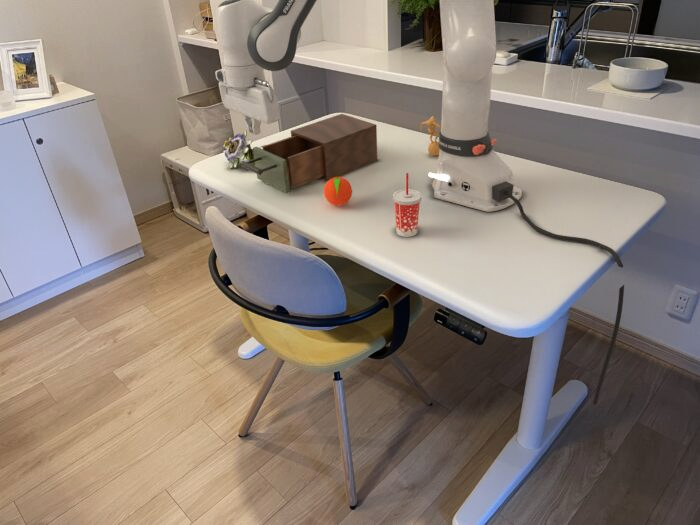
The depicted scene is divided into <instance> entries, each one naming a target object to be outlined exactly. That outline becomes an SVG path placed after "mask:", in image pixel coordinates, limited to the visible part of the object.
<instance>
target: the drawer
mask: <svg viewBox="0 0 700 525" xmlns="http://www.w3.org/2000/svg"><path fill="white" fill-rule="evenodd" d="M264 145H265V146H264ZM264 145H261V146H262V147H260V146H259V147H260V148H259V147H258V146H254V147H252V149H253V153H254V159H253V160H250V161H248V160H241V161H240V166H241V167H242V168H245V169H247V170H249V171H251V172H253V173H254V174H256V179H257V180H260V181H262V182H264V184H267V185H269V186H271V187H273V188H275V189H277V190H279V191H280V192H282V193H285V194H289V193H291V189H295V188H297V187H300V186H302V185H304V184H307V183H310V182H313V181H315V180H318V179H321V178H320V177H322V176H325V169H324V157H323V146H322V145H319V144H317V143H314V142H312V141H309V140H306V139H304V138H301V137H299V136H296V135H295V136H292V137H291V136H289V137H286V138H283V139H280V140H277V141H274V142H271V143H268V144H264ZM253 162H255V166H256V167H255V166H253V165H251V164H250V163H253Z"/></svg>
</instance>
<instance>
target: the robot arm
mask: <svg viewBox="0 0 700 525" xmlns="http://www.w3.org/2000/svg"><path fill="white" fill-rule="evenodd" d="M317 1H318V0H278V1H277V3H276V5H275V6H274V8H272V7H269V6H266V5H263V4H262V3H259V2H257V1H255V0H224V1H223V2H221V3H220V4H219V5H218V7H217V8H216V10H215V11H216V13H215V19H216V29H217V36H218V41H219V46H220V48H221V50H222V54H223V58H222V65H223V68H220V69H218V70H216V71H215V74H214V75H215V79H216V80H217V81H218V89H219V93H220V98H221V102H222V104H223V106H224V108H225V109H227V110H229V111H232V112H234V113H237V114H240V115H242V119H243V121H244V124H245V126H246V128H247V133H250V134H253V135H254V136H257V135H260V134H261V132H262V130H261V124H262V123H263V124H267V125H270V124H274V123H277V122H278V121H280V118H281V110H280V107H279V102H278V98H277V93H276V91H275V89H274V88H273V87H272V86H271V85H270V83H269V81H268V80H266V76H265V70H266V71H269V72H279V71H282V70H284V69H286V68H288V66H290V65H291V64H292V62H293V61H294V58H295V57H296V53H297V50H298V47H299V45H300V41H301V39H302V31H301V29H302V27H303V25H304V23H305V21H306V20H307V18H308V17H309V14H310V12H311V11H312V10H313V8H314V6H315V4H316V3H317ZM439 14H440V28H441V30H440V31H441V42H442V54H443V57H442V58H443V73H442V74H443V76H442V79H443V80H442V95H441V117H440V126H441V129H440V130H439V132H438V134H439V135H438V139H437V140H438V141H437V142H439V143H438V146H439V148H440V151H439V155H438V158H437V159H438V160H437V166H436V169H435V170H436V171H435V173H432V172H429V173H428V177H429V178H433V181H432V184H431V187H432V190H433V191H434V192H433V197H434V198H435V199H437V200H442V201H445V202H450V203H453V204H456V205H460V206H464V207H468V208H471V209H475V210H479V211H483V212H487V213H490V212H491V213H492V212H497V211H501V210H503V209H506V208H508V207H510V206H513V205H514V204H516V206H517V208H518V211H519V214H520V215H521V217H522V218H523V219H524V221H525V222H526V223H527V224H528V225H529V226H530V227H531V228H532V229H533V230H535V231H536V232H537V233H540V234H542V235H545V236H548V237H550V238H553V239H556V240H562V241H568V242H570V241H571V242H577V243H584V244H587V245H592V246H594V247H597V248H599V249H601V250H603V251H606V252H608V253H609V254H610V255H611V256H612V257H613V259H614V260H615V261H616V265H617V267H619V268H624V264H623V262H622V260H621V258H620V256H619V254H617V252H616V251H615V250H614V249H613V248H611V247H609V246H608V245H605V244H603V243H600V242H598V241H596V240H593V239H588V238H584V237H578V236H577V237H576V236H569V235H563V234H557V233H553V232H550V231H548V230H545V229H543V228H542V227H540V226H537V225H536V224H534V222H532V221H531V219H530V218H529V216H527V214H526V212H525V211H524V208H523V205H522V203H521V202H520V201H519V200H520V199H522V196H523V190H522V189H521V188H519V187H518V186H515V185H514V175H513V171H512V169H511V168H510V167H509V166H508V165H507V164H506V163H505V161H504V160H502V158H501V157H500V156H499V154H498V153H496V151H495V150H494V148H493V145H496V144H497V138H493V139H491V135H490V132H489V121H490V110H491V96H492V95H491V93H492V73H493V67H494V64H495V62H496V58H497V36H496V19H495V16H496V15H495V0H439ZM618 289H619V290H618V301H617V310H616V316H615V322H614V326H613V331H612V335H611V339H610V342H609V346H608V350H607V353H606V356H605V359H604V362H603V366H602V369H601V372H600V375H599V379H598V381H597V386H596V390H595V392H594V396H593V401H592V405H595V406H597V405H598V401H599V397H600V394H601V390H602V387H603V383H604V380H605V377H606V373H607V370H608V366H609V364H610V361H611V359H612V355H613V351H614V347H615V344H616V340H617V336H618V333H619V328H620V324H621V318H622V313H623V305H624V296H625V295H624V294H625V284H622V286H621V287H619V288H618Z"/></svg>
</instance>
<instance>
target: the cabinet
mask: <svg viewBox="0 0 700 525" xmlns="http://www.w3.org/2000/svg"><path fill="white" fill-rule="evenodd" d="M377 131H378V130H377V124H376V123H373V122H369V121H366V120H362V119H359V118H357V117H353V116H350V115H347V114H344V113H340V114H337V115H333V116H330V117H328V118H325V119H322V120H319V121H316V122H313V123H310V124H307V125H304V126H300V127H298V128H294V129H292V130H290V137H292V136H295V135H296V136H299V137H301V138H304V139H306V140H309V141H312V142H314V143H317V144H319V145H322V146H323V157H324V169H325V176H322V177H320V178H319V179H321V180H323V181H325V182H328V181H329V180H330V179H332V178H334V177H343V176H344V175H346V174H350V173H351V172H354V171H356V170H359V169H362V168H364V167H365V166H366V167H367V166H368V165H371V164H373V163H376V162H378V134H377V133H378V132H377Z"/></svg>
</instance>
